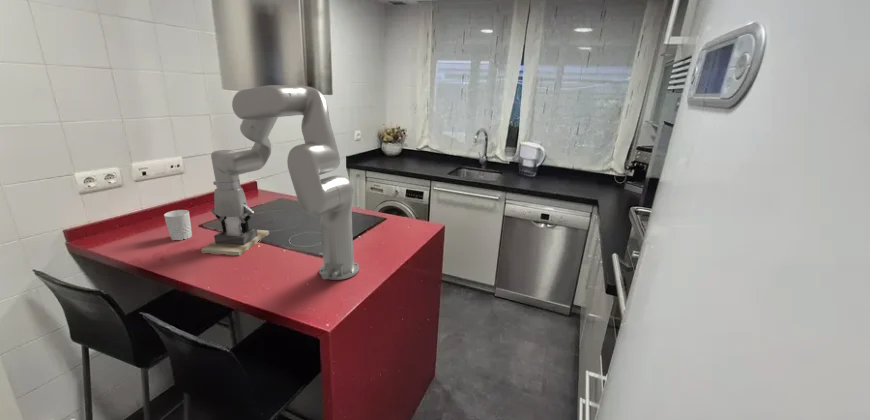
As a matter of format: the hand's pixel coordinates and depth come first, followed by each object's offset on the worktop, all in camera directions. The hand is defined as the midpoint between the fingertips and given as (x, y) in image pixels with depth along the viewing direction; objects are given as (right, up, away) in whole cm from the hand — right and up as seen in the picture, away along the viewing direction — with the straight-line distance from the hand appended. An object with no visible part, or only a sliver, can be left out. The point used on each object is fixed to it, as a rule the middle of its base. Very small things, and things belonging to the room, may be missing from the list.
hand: (236, 231), depth 137 cm
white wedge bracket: (0, -2, +1) cm, 2 cm away
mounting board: (0, -5, +2) cm, 5 cm away
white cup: (-24, -3, +5) cm, 25 cm away
